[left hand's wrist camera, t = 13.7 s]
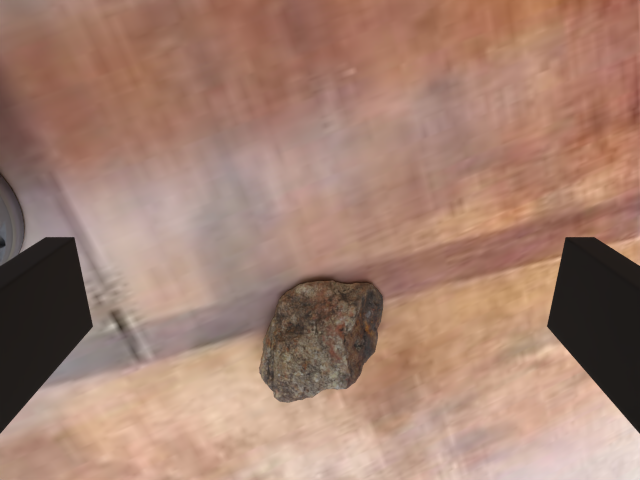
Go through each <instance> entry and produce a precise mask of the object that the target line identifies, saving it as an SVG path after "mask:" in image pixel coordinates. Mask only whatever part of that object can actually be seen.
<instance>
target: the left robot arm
mask: <svg viewBox="0 0 640 480" xmlns="http://www.w3.org/2000/svg"><path fill="white" fill-rule="evenodd" d="M23 237H24V222H23V216H22V212H21V208H20V206H19V203H18V201H17V199H16V196H15V195H14V193H13V191H12V189H11V188H10V186H9V185H8V183H7V182H6V181H5V180H4V178H3V177H2V176H1V175H0V433H1V432H2V431H3V430H4V429H5V428H6V426H7V425H8V424H9V423H10V422H11V421H12V419H13V418H14V417H15V416H16V415H17V414H18V413H19V411H20V410H21V409H22V408H23V407H24V406H25V404H26V403H27V402H28V401H29V400H30V399H31V397H32V396H33V395H34V394H35V393H36V392H37V391H38V389H39V388H40V387H41V386H42V385H43V384H44V382H45V381H46V380H47V379H48V378H49V377H50V376H51V374H52V373H53V372H54V371H55V370H56V369H57V367H58V366H59V365H60V364H61V363H62V362H63V360H64V359H65V358H66V357H67V356H68V355H69V354H70V352H71V351H72V350H73V349H74V348H75V347H76V345H77V344H78V343H79V342H80V341H81V340H82V339H83V337H84V336H85V335H86V334H87V333H88V332H89V330H90V329H91V328H92V327H93V325H92V320H91V315H90V310H89V305H88V301H87V296H86V291H85V286H84V281H83V277H82V272H81V267H80V262H79V257H78V253H77V248H76V243H75V238H74V237H45V238H44V239H42V240H41V241H39V242H37V243H36V244H34V245H33V246H31V247H30V248H28V249H26V250H25V251H23V252H22V253H20V254H19V251H20V249H21V246H22V243H23ZM547 327H548V328H549V329H550V330H551V332H552V333H553V334H554V335H555V336H556V337H557V339H558V340H559V341H560V342H561V343H562V344H563V345H564V347H565V348H566V349H567V350H568V351H569V352H570V354H571V355H572V356H573V357H574V358H575V359H576V360H577V362H578V363H579V364H580V365H581V366H582V367H583V369H584V370H585V371H586V372H587V373H588V374H589V376H590V377H591V378H592V379H593V380H594V381H595V382H596V384H597V385H598V386H599V387H600V388H601V389H602V391H603V392H604V393H605V394H606V395H607V396H608V397H609V399H610V400H611V401H612V402H613V403H614V404H615V406H616V407H617V408H618V409H619V410H620V411H621V413H622V414H623V415H624V416H625V417H626V418H627V419H628V421H629V422H630V423H631V424H632V425H633V426H634V428H635V429H636V430H637V431H638V432H639V433H640V266H639V265H637V264H636V263H634V262H633V261H631V260H629V259H628V258H626V257H625V256H623V255H622V254H620V253H618V252H617V251H615V250H614V249H612V248H610V247H609V246H607V245H606V244H604V243H603V242H601V241H599V240H598V239H596V238H595V237H566V238H565V243H564V248H563V253H562V257H561V262H560V267H559V272H558V277H557V281H556V286H555V291H554V296H553V301H552V305H551V310H550V315H549V320H548V325H547Z"/></svg>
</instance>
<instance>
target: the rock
mask: <svg viewBox="0 0 640 480" xmlns="http://www.w3.org/2000/svg"><path fill="white" fill-rule="evenodd" d="M382 310H383V297H382V295H381V294H380V292H379V291H378V290H377V289H376V288H375V287H374V286H373V285H372V284H370V283H353V284H343V283H339V282H335V281H334V280H332V281H315V282H311V283H309V282H307V283H305V284H299V285H298V286H296V287H294V289H291V290H289V291H287V292H286V293H285V294H284V295H283V296H282V297H281V298H280V299H279V302H278V305H277V307H276V311H275V316H274V318H273V319H272V321H271V324H270V326H269V328H268V331H267V334H266V336H265V338H264V340H263V344H264V346H263V355H262V358H261V364H260V367H259V371H260V374H261V377H262V379H263V381H264V382H265V383H266V384H267V385H268V386H269V388H270V389H271V390H272V391H273V392H274V397H275V398H276V399H277V400H279V401H280V402H292V401H296V400H303V399H305V398H310V397H314V396H315V395H316V394H318V393H319V392H321V391H322V390H325V389H347V388H348V387H349V386H350V385H352V384H353V383H355V382H356V380H357V379H358V377H359V376H360V374H361V371H362V367H363V365H364V363H366V361H367V360H368V359H369V357H370V356H371V355H372V354H373V353H374V352H375V349H376V344H377V339H378V333H377V328H378V326H379V324H380V322H381V315H382Z"/></svg>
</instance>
